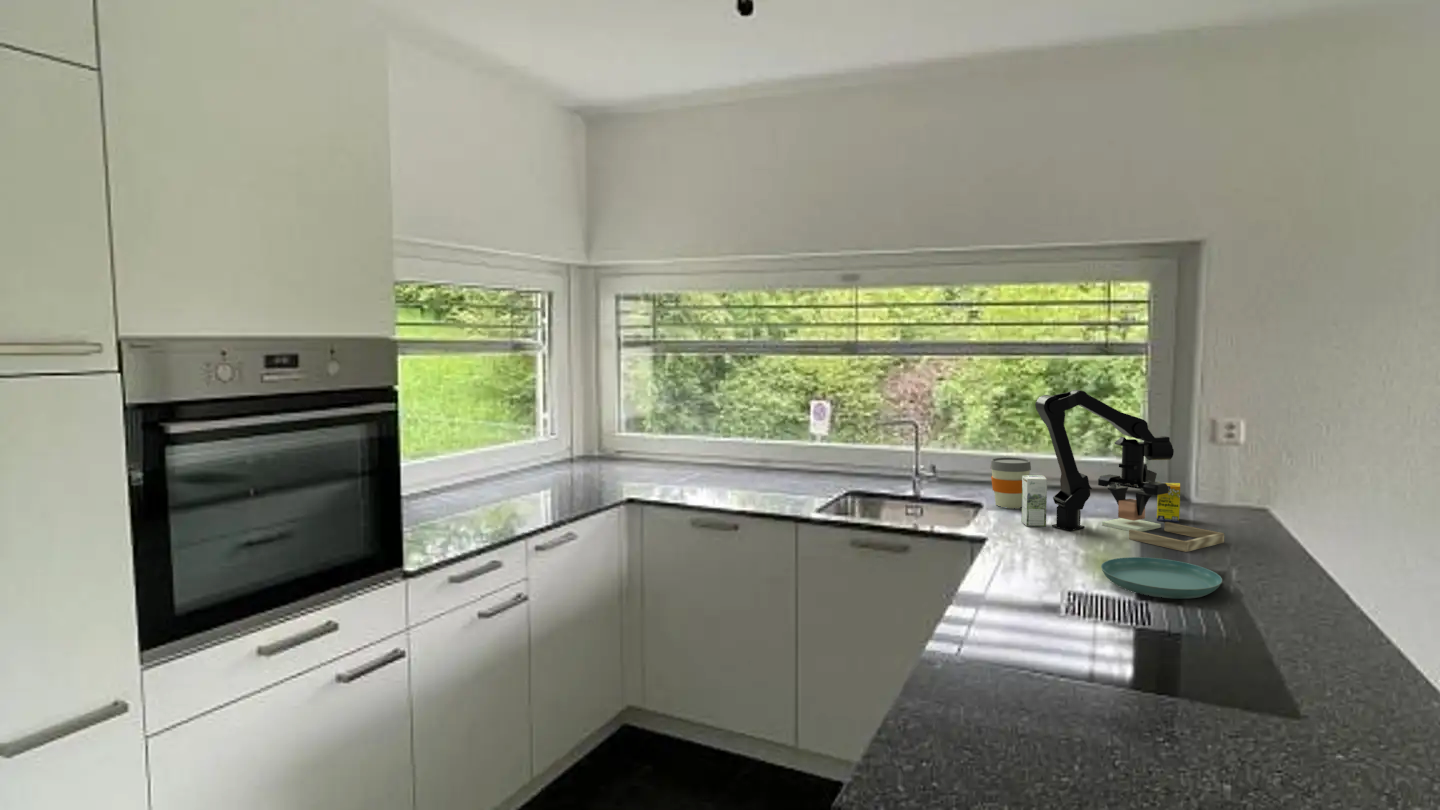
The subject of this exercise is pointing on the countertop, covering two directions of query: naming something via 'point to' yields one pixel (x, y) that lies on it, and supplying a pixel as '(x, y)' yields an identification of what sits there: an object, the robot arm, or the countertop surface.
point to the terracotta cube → (1129, 510)
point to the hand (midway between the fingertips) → (1131, 513)
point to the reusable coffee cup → (1009, 480)
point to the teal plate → (1161, 577)
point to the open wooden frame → (1201, 541)
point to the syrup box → (1034, 500)
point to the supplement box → (1169, 504)
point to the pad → (1131, 524)
